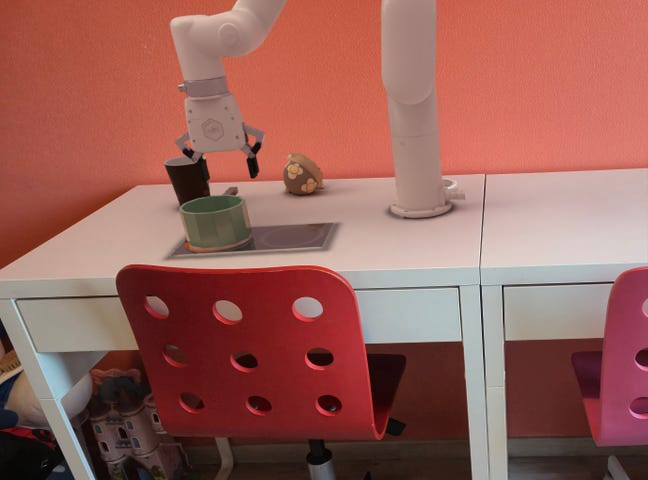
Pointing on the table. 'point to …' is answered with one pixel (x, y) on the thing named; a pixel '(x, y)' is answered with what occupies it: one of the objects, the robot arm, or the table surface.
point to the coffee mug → (186, 179)
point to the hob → (272, 239)
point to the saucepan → (216, 221)
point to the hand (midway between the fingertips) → (230, 178)
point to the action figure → (301, 175)
